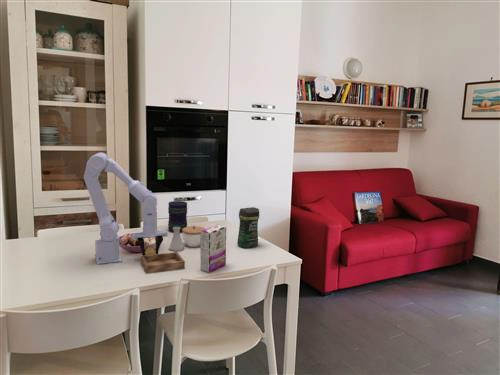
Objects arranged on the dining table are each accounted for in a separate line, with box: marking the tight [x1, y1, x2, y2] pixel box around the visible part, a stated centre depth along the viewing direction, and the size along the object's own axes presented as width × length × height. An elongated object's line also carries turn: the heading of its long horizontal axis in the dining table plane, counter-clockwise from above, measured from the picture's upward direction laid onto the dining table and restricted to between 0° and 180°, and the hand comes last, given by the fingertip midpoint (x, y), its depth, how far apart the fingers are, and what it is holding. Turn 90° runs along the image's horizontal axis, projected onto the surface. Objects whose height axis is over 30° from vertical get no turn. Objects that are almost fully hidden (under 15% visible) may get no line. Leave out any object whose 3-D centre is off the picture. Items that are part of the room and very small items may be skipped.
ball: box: [144, 245, 156, 255], centre depth 166 cm, size 5×5×5 cm
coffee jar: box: [237, 206, 260, 249], centre depth 187 cm, size 10×8×19 cm
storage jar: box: [167, 200, 188, 234], centre depth 208 cm, size 10×10×15 cm
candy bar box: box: [200, 224, 227, 273], centre depth 158 cm, size 11×5×16 cm, turn 148°
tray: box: [140, 251, 186, 274], centre depth 158 cm, size 15×12×3 cm
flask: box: [168, 227, 185, 252], centre depth 179 cm, size 7×7×10 cm
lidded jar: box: [182, 225, 206, 248], centre depth 185 cm, size 11×11×9 cm
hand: (149, 254), depth 166 cm, fingers closed on ball, 5 cm apart
